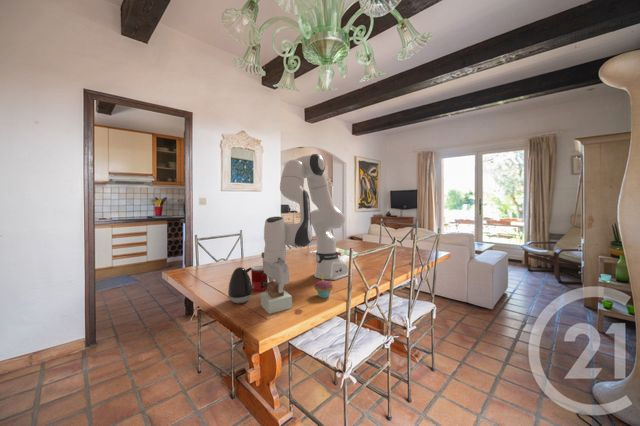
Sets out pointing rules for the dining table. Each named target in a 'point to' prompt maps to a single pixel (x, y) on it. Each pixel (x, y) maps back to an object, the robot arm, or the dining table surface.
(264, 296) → the pedestal
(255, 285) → the canned food
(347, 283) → the dining table surface
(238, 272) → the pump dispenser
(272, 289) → the walnut cube
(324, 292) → the cupcake
